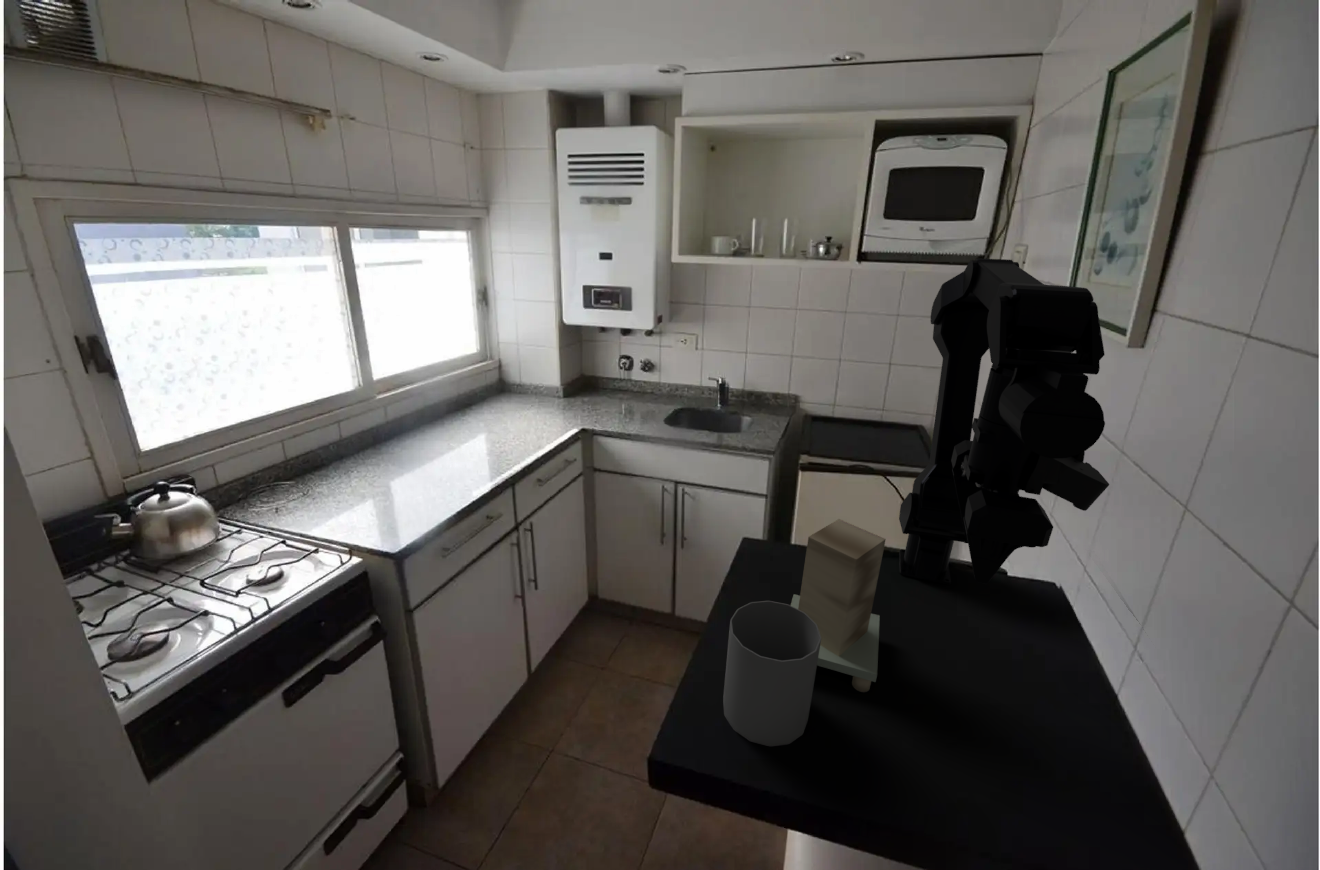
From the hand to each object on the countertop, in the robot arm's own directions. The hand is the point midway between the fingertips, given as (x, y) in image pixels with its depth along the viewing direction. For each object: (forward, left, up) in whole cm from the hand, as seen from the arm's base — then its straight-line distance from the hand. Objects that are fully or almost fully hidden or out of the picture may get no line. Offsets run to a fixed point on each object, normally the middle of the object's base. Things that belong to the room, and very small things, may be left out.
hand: (975, 558), depth 59 cm
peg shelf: (+5, -13, -13) cm, 19 cm away
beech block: (+5, -13, -10) cm, 17 cm away
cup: (+16, -18, -13) cm, 28 cm away
